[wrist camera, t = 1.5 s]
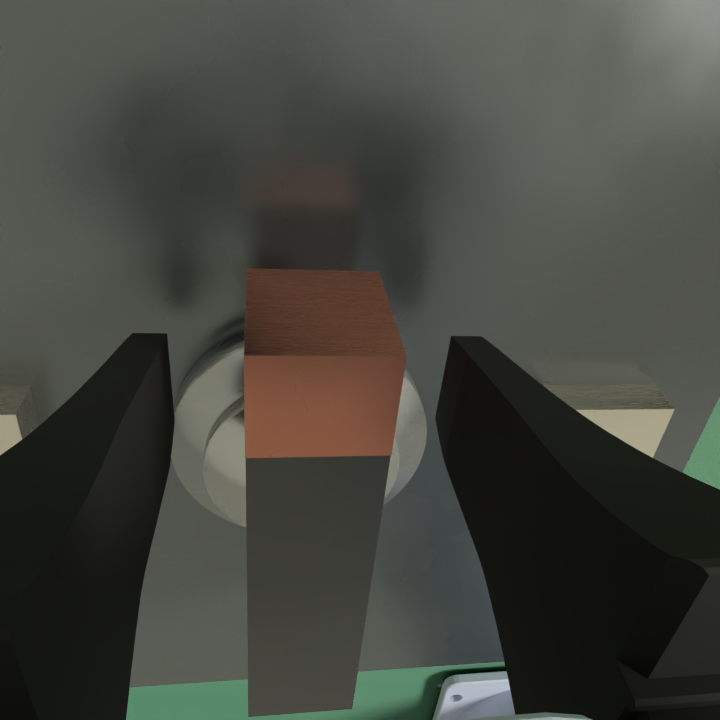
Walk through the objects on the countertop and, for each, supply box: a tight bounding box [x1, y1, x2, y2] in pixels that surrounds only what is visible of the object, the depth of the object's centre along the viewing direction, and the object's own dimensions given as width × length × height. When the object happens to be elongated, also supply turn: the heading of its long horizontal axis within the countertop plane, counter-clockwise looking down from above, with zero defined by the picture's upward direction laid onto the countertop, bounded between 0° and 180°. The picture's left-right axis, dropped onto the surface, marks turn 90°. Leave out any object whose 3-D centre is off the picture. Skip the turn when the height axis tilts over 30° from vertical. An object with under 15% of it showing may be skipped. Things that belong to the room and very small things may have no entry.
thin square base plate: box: [0, 0, 720, 687], centre depth 16 cm, size 22×22×2 cm
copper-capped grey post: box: [203, 268, 407, 717], centre depth 14 cm, size 10×4×3 cm, turn 175°
